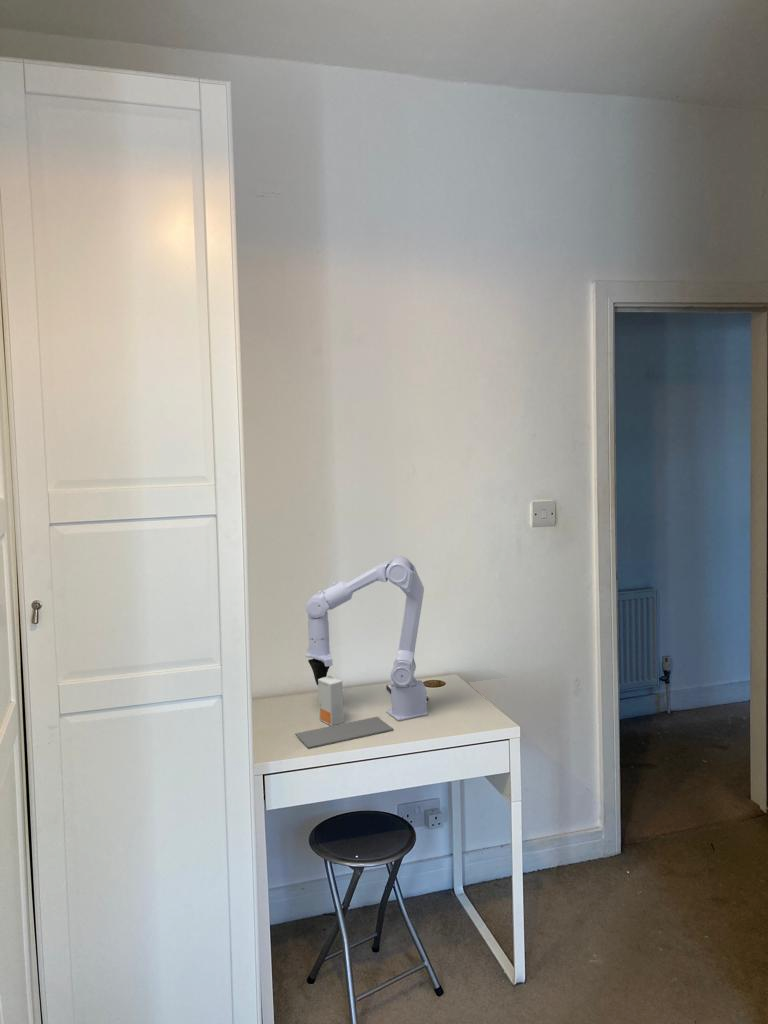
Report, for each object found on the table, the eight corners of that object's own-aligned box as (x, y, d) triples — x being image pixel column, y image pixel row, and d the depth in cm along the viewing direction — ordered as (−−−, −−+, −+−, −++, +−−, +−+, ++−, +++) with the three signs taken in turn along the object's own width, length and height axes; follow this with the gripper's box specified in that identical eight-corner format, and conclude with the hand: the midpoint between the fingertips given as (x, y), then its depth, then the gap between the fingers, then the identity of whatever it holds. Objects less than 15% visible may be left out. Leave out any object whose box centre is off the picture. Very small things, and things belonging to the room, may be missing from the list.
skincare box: (318, 720, 215) (317, 678, 213) (331, 716, 217) (329, 675, 216) (331, 727, 210) (330, 684, 209) (344, 722, 213) (343, 680, 211)
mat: (377, 718, 215) (377, 716, 215) (393, 730, 206) (393, 728, 206) (295, 735, 205) (295, 733, 205) (308, 749, 196) (308, 747, 196)
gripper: (296, 633, 223) (298, 679, 224) (314, 645, 210) (316, 694, 211) (319, 630, 226) (321, 675, 227) (338, 642, 213) (340, 690, 214)
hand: (320, 684), depth 220 cm, fingers closed
